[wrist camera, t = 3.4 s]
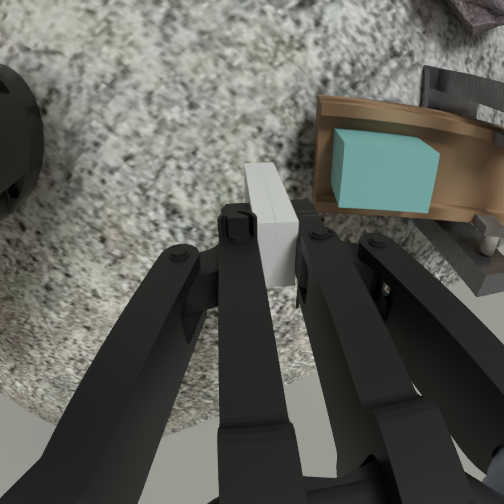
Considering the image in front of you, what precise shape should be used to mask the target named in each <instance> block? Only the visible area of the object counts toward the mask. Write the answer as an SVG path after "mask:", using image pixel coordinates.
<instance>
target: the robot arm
mask: <svg viewBox="0 0 504 504" xmlns="http://www.w3.org/2000/svg"><path fill="white" fill-rule="evenodd" d="M42 158H43V128H42V122H41V117H40V113H39V109H38V106H37V103H36V101H35V98H34V96H33V94H32V92H31V90H30V88H29V87H28V85H27V84H26V82H25V81H24V80H23V79H22V78H21V76H20V75H19V74H17V73H16V72H15V71H14V70H12V69H11V68H9V67H7V66H5V65H3V64H0V221H2V220H3V219H5V218H6V217H8V216H9V215H11V214H12V213H13V212H14V211H15V210H16V209H17V208H18V207H19V206H20V205H21V204H22V203H23V202H24V201H25V200H26V199H27V197H28V196H29V195H30V193H31V192H32V190H33V188H34V186H35V184H36V182H37V179H38V176H39V173H40V169H41V164H42ZM244 175H245V203H235V204H226V205H225V206H224V207H223V208H222V209H221V215H219V217H218V219H217V221H218V233H219V243H218V245H216V246H215V247H214V248H212V249H210V250H207V251H204V252H200V253H199V251H198V249H197V248H196V247H194V246H192V245H188V244H177V245H173V246H171V247H169V248H167V249H165V250H164V251H163V252H162V253H161V254H160V256H159V257H158V259H157V260H156V262H155V263H154V265H153V266H152V268H151V269H150V271H149V272H148V274H147V275H146V277H145V278H144V280H143V281H142V283H141V284H140V286H139V287H138V289H137V290H136V292H135V293H134V295H133V296H132V298H131V300H130V301H129V303H128V304H127V306H126V307H125V309H124V310H123V312H122V314H121V315H120V317H119V318H118V320H117V322H116V323H115V325H114V326H113V328H112V330H111V331H110V333H109V335H108V336H107V338H106V340H105V341H104V343H103V345H102V346H101V348H100V350H99V351H98V353H97V355H96V356H95V358H94V360H93V361H92V363H91V365H90V367H89V368H88V370H87V372H86V374H85V375H84V377H83V379H82V381H81V382H80V384H79V386H78V388H77V389H76V391H75V393H74V395H73V397H72V398H71V400H70V402H69V404H68V406H67V408H66V410H65V411H64V413H63V415H62V417H61V419H60V421H59V423H58V425H57V427H56V429H55V430H54V432H53V434H52V436H51V439H50V441H49V442H48V445H47V446H46V448H45V450H44V452H43V455H42V456H41V458H40V459H39V460H38V461H37V462H36V463H35V464H34V465H33V466H32V467H31V468H30V469H29V470H28V471H27V472H26V473H25V474H24V475H23V476H22V477H21V478H20V479H19V480H18V481H17V482H16V483H15V484H14V485H13V486H12V487H11V488H10V489H9V490H8V491H7V492H6V493H5V494H4V495H3V496H2V497H1V498H0V504H137V503H138V501H139V499H140V496H141V494H142V491H143V488H144V485H145V482H146V479H147V476H148V474H149V471H150V468H151V465H152V462H153V459H154V457H155V454H156V451H157V448H158V445H159V443H160V440H161V437H162V434H163V432H164V429H165V426H166V423H167V421H168V418H169V415H170V412H171V410H172V407H173V404H174V402H175V399H176V396H177V393H178V391H179V388H180V385H181V383H182V380H183V377H184V374H185V372H186V369H187V366H188V364H189V361H190V358H191V356H192V353H193V350H194V348H195V345H196V343H197V340H198V337H199V335H200V332H201V329H202V327H203V324H204V321H205V319H206V316H207V310H208V309H211V308H214V307H218V349H219V415H220V424H219V425H220V426H219V428H218V434H217V446H218V479H219V497H217V498H215V499H213V500H212V501H210V502H209V503H208V504H504V345H503V344H502V343H501V341H499V339H498V338H497V337H496V336H495V335H494V334H493V333H492V332H491V331H490V330H489V329H488V328H487V327H486V326H485V325H484V324H483V323H482V322H481V321H480V320H479V319H478V318H477V317H476V316H475V315H474V314H473V313H472V312H471V311H470V310H469V309H468V308H467V307H466V306H465V305H464V304H463V303H462V302H461V301H460V300H459V299H458V298H457V297H456V296H455V295H454V294H453V293H452V292H450V291H449V290H448V289H447V288H446V287H445V286H444V285H443V284H442V283H441V282H440V281H439V280H438V279H436V278H435V277H434V276H433V275H432V274H431V273H430V272H429V271H428V270H426V269H425V268H424V267H423V266H422V265H421V264H420V263H419V262H417V261H416V260H415V259H414V258H413V257H412V256H411V255H409V254H408V253H407V252H406V251H405V250H404V249H402V248H401V247H400V246H399V245H398V244H397V243H395V242H394V241H393V240H392V239H390V238H389V237H387V236H385V235H382V234H380V233H366V234H364V235H362V236H361V237H360V240H359V244H358V243H351V242H345V241H341V240H340V238H339V236H338V234H337V233H336V232H335V231H334V230H332V229H330V228H327V227H325V226H324V224H323V222H322V220H321V218H320V217H319V216H318V213H317V211H316V209H315V208H314V206H313V204H311V203H310V202H308V201H307V200H289V197H288V195H287V193H286V190H285V188H284V186H283V183H282V181H281V179H280V177H279V174H278V172H277V170H276V168H275V165H274V163H246V164H244ZM295 274H296V277H297V281H298V285H297V297H296V309H297V308H299V304H300V306H301V310H302V314H303V317H304V321H305V325H306V329H307V332H308V336H309V340H310V344H311V348H312V352H313V356H314V359H315V363H316V367H317V371H318V375H319V379H320V383H321V387H322V391H323V395H324V399H325V404H326V407H327V412H328V416H329V420H330V424H331V428H332V432H333V437H334V441H335V445H336V451H337V466H336V469H337V478H322V477H307V476H303V474H302V469H301V463H300V457H299V451H298V445H297V440H296V435H295V430H294V427H293V424H292V423H291V422H290V421H289V418H288V413H287V407H286V401H285V395H284V389H283V383H282V377H281V371H280V365H279V359H278V353H277V347H276V341H275V336H274V330H273V324H272V318H271V312H270V307H269V301H268V295H267V289H266V287H274V286H288V285H295ZM385 284H387V285H388V286H389V287H390V293H389V294H388V293H387V292H386V291H385V290H384V287H385ZM411 381H412V382H411ZM412 383H413V384H414V385H415V387H416V388H417V389H418V391H419V392H420V393H421V395H422V396H420V395H419V394H417V392H416V391H415V389H414V386H413V384H412ZM450 435H451V436H452V437H453V439H454V440H455V442H456V443H457V444H458V446H459V447H460V449H461V450H462V451H463V452H464V454H465V455H466V456H467V458H468V459H469V460H470V461H471V462H472V463H473V464H474V465H475V466H476V467H477V468H478V469H480V470H481V471H482V472H483V473H485V474H486V475H487V476H486V477H485V478H484V479H483V481H482V482H480V481H479V480H477V479H476V478H474V477H472V476H471V475H469V474H467V473H466V472H465V471H464V470H463V467H462V464H461V461H460V459H459V456H458V454H457V451H456V448H455V446H454V443H453V441H452V438H451V436H450Z"/></svg>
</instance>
